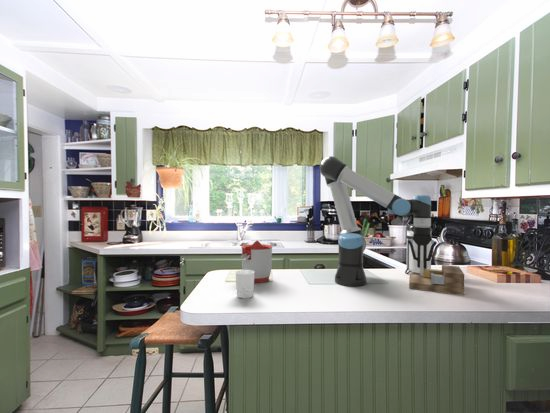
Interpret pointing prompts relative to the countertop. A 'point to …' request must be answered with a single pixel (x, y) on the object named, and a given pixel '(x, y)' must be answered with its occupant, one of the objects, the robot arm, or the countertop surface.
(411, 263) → the coffee press
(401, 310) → the countertop surface
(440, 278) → the grey steel plug
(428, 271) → the brass plug
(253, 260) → the citrus juicer
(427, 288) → the socket block
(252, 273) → the white cup
